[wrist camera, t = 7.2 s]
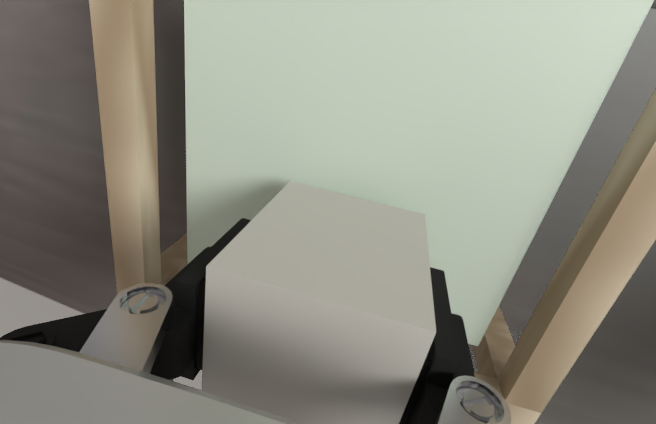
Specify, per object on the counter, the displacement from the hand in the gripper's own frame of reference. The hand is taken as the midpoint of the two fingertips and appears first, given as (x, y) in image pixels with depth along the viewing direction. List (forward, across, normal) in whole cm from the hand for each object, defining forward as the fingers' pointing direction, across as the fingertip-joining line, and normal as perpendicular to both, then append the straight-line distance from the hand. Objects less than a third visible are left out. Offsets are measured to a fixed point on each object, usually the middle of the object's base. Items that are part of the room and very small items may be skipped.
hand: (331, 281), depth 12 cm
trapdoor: (+4, 0, -4) cm, 6 cm away
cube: (+2, 0, 0) cm, 2 cm away
